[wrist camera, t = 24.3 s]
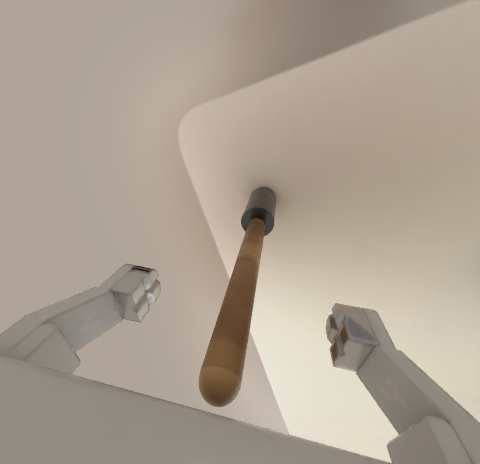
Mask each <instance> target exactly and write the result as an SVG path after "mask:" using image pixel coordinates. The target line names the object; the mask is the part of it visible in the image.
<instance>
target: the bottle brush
mask: <svg viewBox="0 0 480 464" xmlns="http://www.w3.org/2000/svg"><path fill="white" fill-rule="evenodd" d="M275 204H276V197H275V194H274V193H273V191H272V190H270V189H269V188H265V187H261V188H257V189H256V190H254V191H253V193H252V194H251V197H250V199H249V202H248V204H247V206H246V209H245V211H244V213H243V216H242V219H241V224H242V227H243V229H244V230H245V231H246V233H245V236H244V239H243V242H242V245H241V248H240V251H239V254H238V257H237V260H236V264H235V267H234V270H233V273H232V276H231V279H230V282H229V285H228V288H227V291H226V294H225V297H224V300H223V303H222V307H221V310H220V313H219V316H218V319H217V322H216V325H215V328H214V331H213V334H212V337H211V340H210V343H209V346H208V349H207V353H206V355H205V359H204V362H203V365H202V368H201V371H200V375H199V389H200V392H201V395H202V396H203V398H204V400H205V401H206V402H207V403H209V404H210V405H212V406H215V407H222V406H226V405H228V404H229V403H231V402H232V401H233V400H234V399H235V397H236V396H237V394H238V392H239V390H240V387H241V381H242V374H243V369H244V362H245V355H246V349H247V343H248V335H249V330H250V323H251V316H252V310H253V303H254V297H255V290H256V284H257V277H258V271H259V264H260V258H261V251H262V245H263V238H264V236H265V235H267V234H269V233H270V232H271V231H272V229H273V227H274V218H275Z"/></svg>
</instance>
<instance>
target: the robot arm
mask: <svg viewBox="0 0 480 464" xmlns="http://www.w3.org/2000/svg"><path fill="white" fill-rule="evenodd" d="M158 276H159V275H158V271H157V270H155V269H150V268H145V267H141V266H135V265H131V264H125V265H123V266H122V267H121V268H120V269H118V270H117V271H116V272H115V273H114V274H113V275H112V276H111V277H109V278H108V279H107V280H106V281H105V282H104V283H103V284H102V285H101V286H99V287H98V288H97V287H94V288H92V289H89V290H87V291H84V292H82V293H79V294H77V295H74V296H72V297H70V298H68V299H65V300H62V301H60V302H57V303H55V304H52V305H50V306H48V307H45V308H43V309H40V310H38V311H36V312H33V313H31V314H28V315H26V316H24V317H23V318H21V319H20V320H19V321H18V322H16V323H15V324H13V325H12V326H11V327H10V328H8V329H7V330H5V331H4V332H3V333H1V334H0V464H480V423H479V422H478V421H477V420H476V419H475V418H474V417H473V416H472V415H470V414H469V413H468V412H467V411H466V410H465V409H464V408H463V407H462V406H461V405H460V404H458V403H457V402H456V401H455V400H454V399H453V398H452V397H451V396H450V395H449V394H448V393H446V392H445V391H444V390H443V389H442V388H441V387H440V386H439V385H438V384H437V383H435V382H434V381H433V380H432V379H431V378H430V377H429V376H428V375H427V374H426V373H425V372H423V371H422V370H421V369H420V368H419V367H418V366H417V365H416V364H415V363H414V362H413V361H411V360H410V359H409V358H408V357H407V356H406V355H405V354H404V353H403V352H402V351H399V350H396V348H395V346H394V344H393V342H392V340H391V338H390V336H389V334H388V332H387V330H386V328H385V326H384V324H383V322H382V320H381V319H380V317H379V315H378V313H377V312H376V311H375V310H371V309H365V308H360V307H354V306H349V305H343V304H337V303H336V304H335V305H334V306H333V308H332V311H333V314H331V315H329V317H328V319H327V323H326V334H327V339H328V340H329V341H330V342H331V343H332V346H331V348H330V353H331V357H332V362H333V366H335V367H339V368H342V369H346V370H350V371H354V372H356V374H357V375H358V377H359V378H360V380H361V381H362V382H363V384H364V385H365V387H366V388H367V390H368V391H369V392H370V394H371V395H372V397H373V398H374V400H375V401H376V402H377V404H378V405H379V407H380V408H381V410H382V411H383V412H384V414H385V415H386V417H387V418H388V419H389V421H390V422H391V424H392V425H393V427H394V428H395V429H396V431H397V432H398V434H399V435H398V436H397V437H395V438H394V439H392V440H391V441H390V442H389V443H388V444H387V448H388V451H389V454H390V458H391V461H392V463H390V462H386V461H382V460H379V459H375V458H371V457H368V456H364V455H361V454H357V453H353V452H350V451H346V450H343V449H339V448H335V447H332V446H328V445H325V444H321V443H317V442H314V441H310V440H307V439H303V438H299V437H296V436H292V435H289V434H285V433H281V432H277V431H274V430H271V429H267V428H263V427H260V426H255V425H252V424H249V423H245V422H242V421H238V420H234V419H231V418H227V417H224V416H220V415H216V414H213V413H209V412H206V411H202V410H198V409H195V408H191V407H188V406H184V405H180V404H177V403H173V402H169V401H166V400H162V399H159V398H155V397H152V396H148V395H144V394H140V393H137V392H133V391H130V390H126V389H123V388H119V387H115V386H112V385H108V384H104V383H101V382H97V381H94V380H90V379H87V378H83V377H79V376H76V375H72V373H73V372H74V371H75V370H76V368H77V367H78V366H79V365H80V359H79V357H78V356H77V354H76V353H75V352H76V351H77V350H79V349H80V348H82V347H83V346H85V345H86V344H88V343H89V342H91V341H92V340H94V339H95V338H97V337H98V336H100V335H101V334H103V333H104V332H106V331H107V330H109V329H110V328H112V327H113V326H115V325H116V324H118V323H119V322H121V321H122V320H123V319H126V320H131V321H136V322H141V321H142V319H143V318H144V317H145V315H146V314H147V313H148V311H149V305H151V304H152V303H154V302H155V301H156V300H157V298H158V296H159V294H160V290H161V285H160V282H159V281H158V280H157V278H158Z"/></svg>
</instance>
